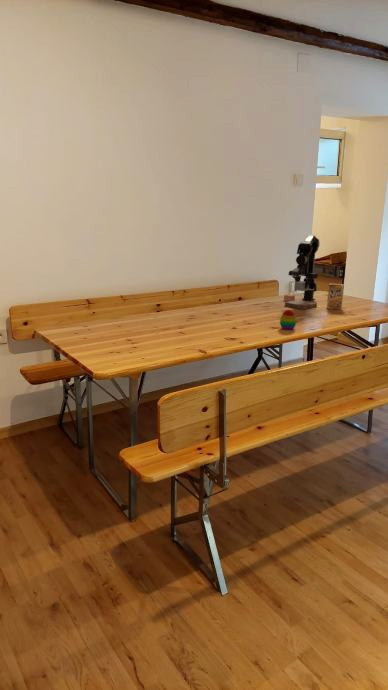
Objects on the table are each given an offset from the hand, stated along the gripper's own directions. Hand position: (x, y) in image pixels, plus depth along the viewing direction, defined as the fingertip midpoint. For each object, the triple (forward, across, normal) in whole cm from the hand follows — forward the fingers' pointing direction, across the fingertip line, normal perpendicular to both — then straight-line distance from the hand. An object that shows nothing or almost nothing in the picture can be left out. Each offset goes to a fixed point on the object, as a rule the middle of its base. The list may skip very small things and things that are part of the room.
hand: (301, 288), depth 318 cm
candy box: (+12, +16, +13) cm, 24 cm away
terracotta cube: (+12, -17, +9) cm, 23 cm away
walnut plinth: (+12, 0, 0) cm, 12 cm away
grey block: (+1, 0, 0) cm, 1 cm away
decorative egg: (+12, +33, -51) cm, 62 cm away
